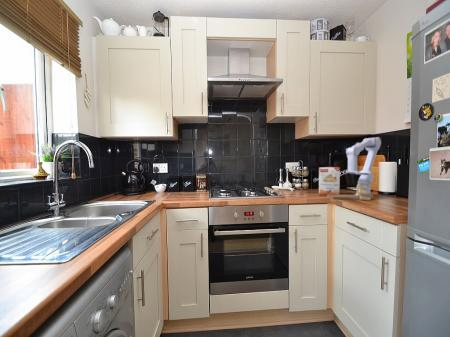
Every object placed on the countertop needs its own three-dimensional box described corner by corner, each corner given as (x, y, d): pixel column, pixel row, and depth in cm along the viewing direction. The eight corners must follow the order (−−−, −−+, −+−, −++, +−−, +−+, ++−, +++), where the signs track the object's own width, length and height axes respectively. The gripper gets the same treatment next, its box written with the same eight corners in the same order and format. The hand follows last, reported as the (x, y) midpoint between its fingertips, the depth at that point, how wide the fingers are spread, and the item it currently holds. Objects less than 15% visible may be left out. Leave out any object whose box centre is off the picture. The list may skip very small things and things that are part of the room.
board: (327, 196, 157) (327, 194, 157) (362, 196, 155) (362, 194, 155) (333, 199, 145) (333, 197, 145) (371, 199, 143) (372, 197, 143)
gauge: (353, 197, 151) (353, 185, 150) (363, 197, 150) (363, 185, 150) (360, 199, 141) (361, 186, 141) (370, 199, 141) (370, 186, 140)
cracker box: (320, 194, 168) (320, 167, 168) (318, 193, 174) (318, 167, 173) (339, 194, 165) (340, 167, 164) (337, 193, 171) (338, 167, 170)
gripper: (341, 164, 159) (341, 183, 159) (351, 164, 144) (351, 185, 145) (351, 164, 158) (351, 183, 159) (362, 164, 144) (362, 185, 144)
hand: (352, 184), depth 152 cm, fingers open, 7 cm apart
